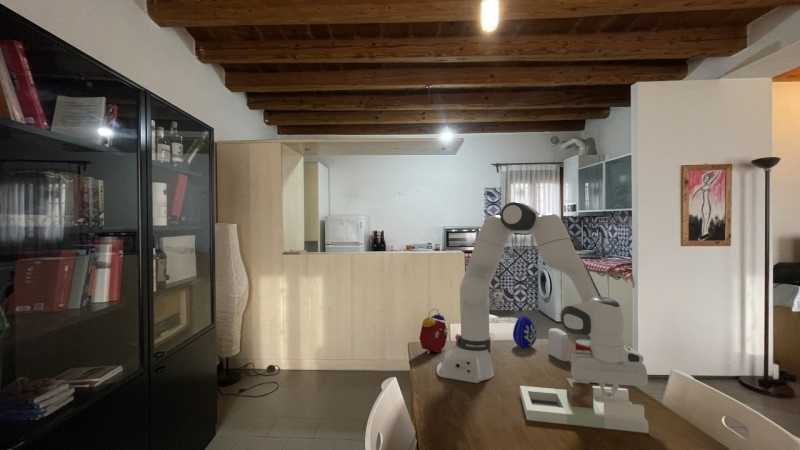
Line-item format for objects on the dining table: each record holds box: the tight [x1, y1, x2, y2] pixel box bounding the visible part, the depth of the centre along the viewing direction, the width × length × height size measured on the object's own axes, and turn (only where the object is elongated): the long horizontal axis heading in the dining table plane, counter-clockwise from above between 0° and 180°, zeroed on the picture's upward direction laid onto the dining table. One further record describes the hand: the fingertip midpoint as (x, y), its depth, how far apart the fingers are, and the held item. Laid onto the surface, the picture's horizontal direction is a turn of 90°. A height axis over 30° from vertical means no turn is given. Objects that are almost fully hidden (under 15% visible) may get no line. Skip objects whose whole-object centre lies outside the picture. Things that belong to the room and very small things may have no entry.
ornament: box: [512, 315, 537, 349], centre depth 164 cm, size 11×9×15 cm
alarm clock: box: [419, 308, 450, 355], centre depth 158 cm, size 15×9×20 cm, turn 141°
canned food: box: [575, 339, 591, 350], centre depth 137 cm, size 8×8×11 cm
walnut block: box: [566, 377, 594, 408], centre depth 105 cm, size 6×6×6 cm
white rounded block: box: [547, 327, 570, 362], centre depth 150 cm, size 10×4×12 cm, turn 13°
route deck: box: [519, 385, 650, 434], centre depth 105 cm, size 32×16×6 cm, turn 77°
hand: (608, 397), depth 103 cm, fingers closed
